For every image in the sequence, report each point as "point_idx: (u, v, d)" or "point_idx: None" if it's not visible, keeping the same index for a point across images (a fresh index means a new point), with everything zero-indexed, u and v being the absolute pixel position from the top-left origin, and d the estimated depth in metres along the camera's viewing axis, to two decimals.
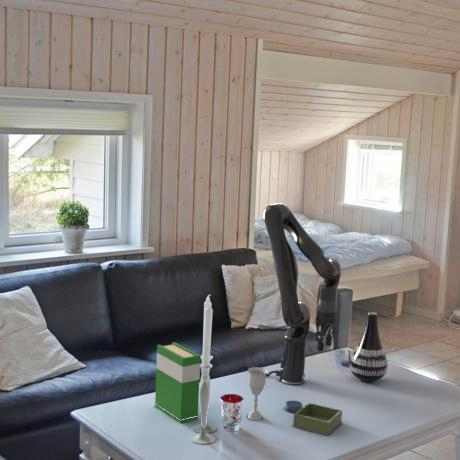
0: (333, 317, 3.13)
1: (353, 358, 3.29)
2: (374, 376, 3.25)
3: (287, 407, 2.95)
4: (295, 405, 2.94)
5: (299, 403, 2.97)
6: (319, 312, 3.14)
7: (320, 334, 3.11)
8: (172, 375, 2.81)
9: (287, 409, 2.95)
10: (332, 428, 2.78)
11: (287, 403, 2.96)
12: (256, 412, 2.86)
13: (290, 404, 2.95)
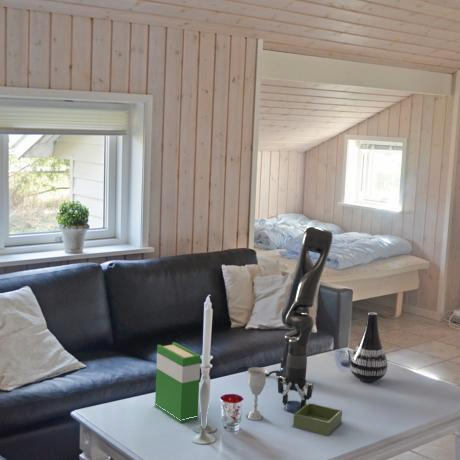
0: (289, 372, 2.92)
1: (353, 358, 3.29)
2: (374, 376, 3.25)
3: (287, 407, 2.95)
4: (295, 405, 2.94)
5: (299, 403, 2.97)
6: None
7: None
8: (172, 375, 2.81)
9: (287, 409, 2.95)
10: (332, 428, 2.78)
11: (287, 403, 2.96)
12: (256, 412, 2.86)
13: (290, 404, 2.95)
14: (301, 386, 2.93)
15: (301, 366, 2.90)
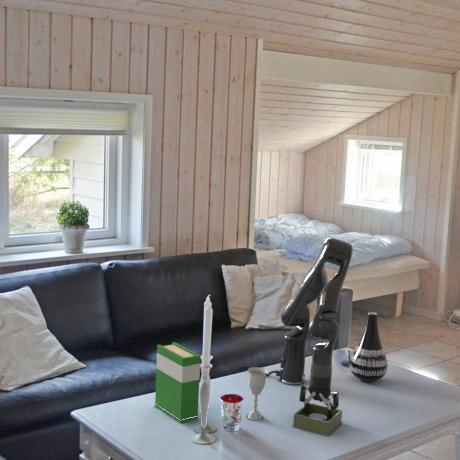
0: (313, 381, 2.79)
1: (353, 358, 3.29)
2: (374, 376, 3.25)
3: None
4: (320, 418, 2.81)
5: (324, 416, 2.84)
6: None
7: None
8: (172, 375, 2.81)
9: None
10: (332, 428, 2.78)
11: (311, 416, 2.83)
12: (256, 412, 2.86)
13: (314, 417, 2.82)
14: (326, 396, 2.80)
15: (326, 375, 2.77)
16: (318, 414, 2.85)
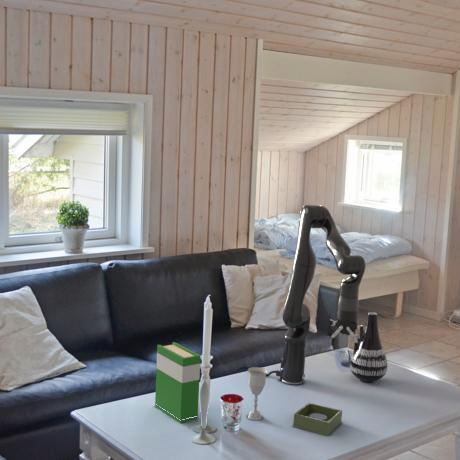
0: (340, 315, 2.90)
1: (353, 358, 3.29)
2: (374, 376, 3.25)
3: None
4: (320, 418, 2.81)
5: (324, 416, 2.84)
6: None
7: None
8: (172, 375, 2.81)
9: None
10: (332, 428, 2.78)
11: (311, 416, 2.83)
12: (256, 412, 2.86)
13: (314, 417, 2.82)
14: (353, 329, 2.91)
15: (353, 309, 2.89)
16: (318, 414, 2.85)
